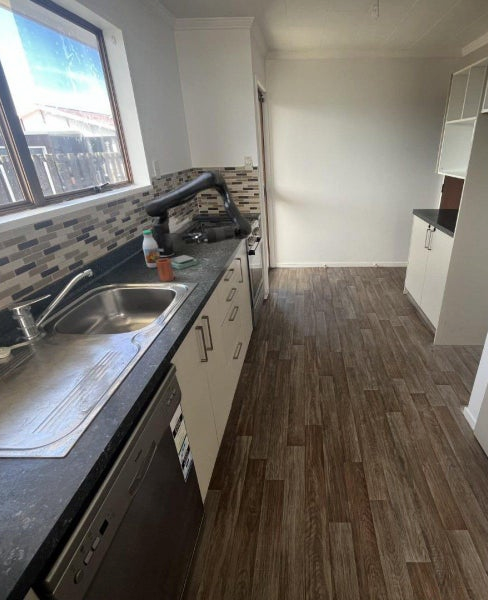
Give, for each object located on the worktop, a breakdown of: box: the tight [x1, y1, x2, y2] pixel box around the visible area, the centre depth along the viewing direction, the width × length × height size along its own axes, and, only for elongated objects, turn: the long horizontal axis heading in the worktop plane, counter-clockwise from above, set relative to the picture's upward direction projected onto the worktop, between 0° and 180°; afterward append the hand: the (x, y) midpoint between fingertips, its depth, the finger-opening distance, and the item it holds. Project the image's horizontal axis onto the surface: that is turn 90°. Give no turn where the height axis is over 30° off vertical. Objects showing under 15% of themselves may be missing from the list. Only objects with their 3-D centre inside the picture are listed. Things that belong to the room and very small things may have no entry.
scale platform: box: [169, 254, 195, 264], centre depth 186 cm, size 10×10×1 cm
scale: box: [171, 258, 199, 270], centre depth 187 cm, size 12×12×3 cm
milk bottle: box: [142, 229, 162, 269], centre depth 182 cm, size 8×8×20 cm
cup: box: [156, 258, 175, 283], centre depth 165 cm, size 7×7×10 cm
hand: (183, 240), depth 164 cm, fingers open, 8 cm apart
